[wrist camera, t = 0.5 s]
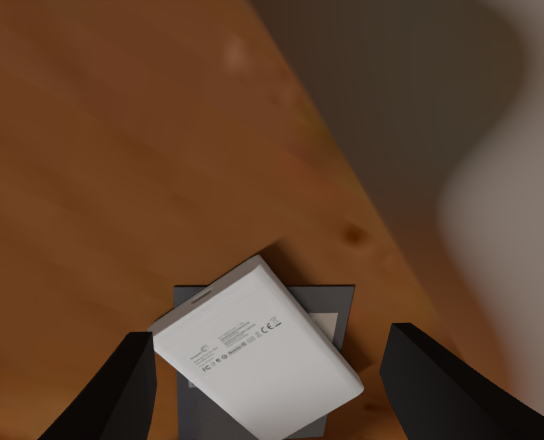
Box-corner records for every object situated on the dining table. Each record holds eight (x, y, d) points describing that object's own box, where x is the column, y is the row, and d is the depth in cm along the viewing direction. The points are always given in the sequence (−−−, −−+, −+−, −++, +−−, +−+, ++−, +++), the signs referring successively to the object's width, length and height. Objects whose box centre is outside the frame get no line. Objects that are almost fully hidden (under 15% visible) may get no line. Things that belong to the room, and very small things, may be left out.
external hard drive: (263, 427, 25) (147, 325, 20) (357, 372, 24) (258, 251, 19) (266, 449, 24) (141, 345, 19) (366, 391, 23) (261, 266, 18)
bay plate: (322, 434, 27) (323, 437, 27) (179, 445, 25) (179, 447, 25) (353, 285, 21) (354, 287, 21) (173, 286, 20) (173, 288, 19)
